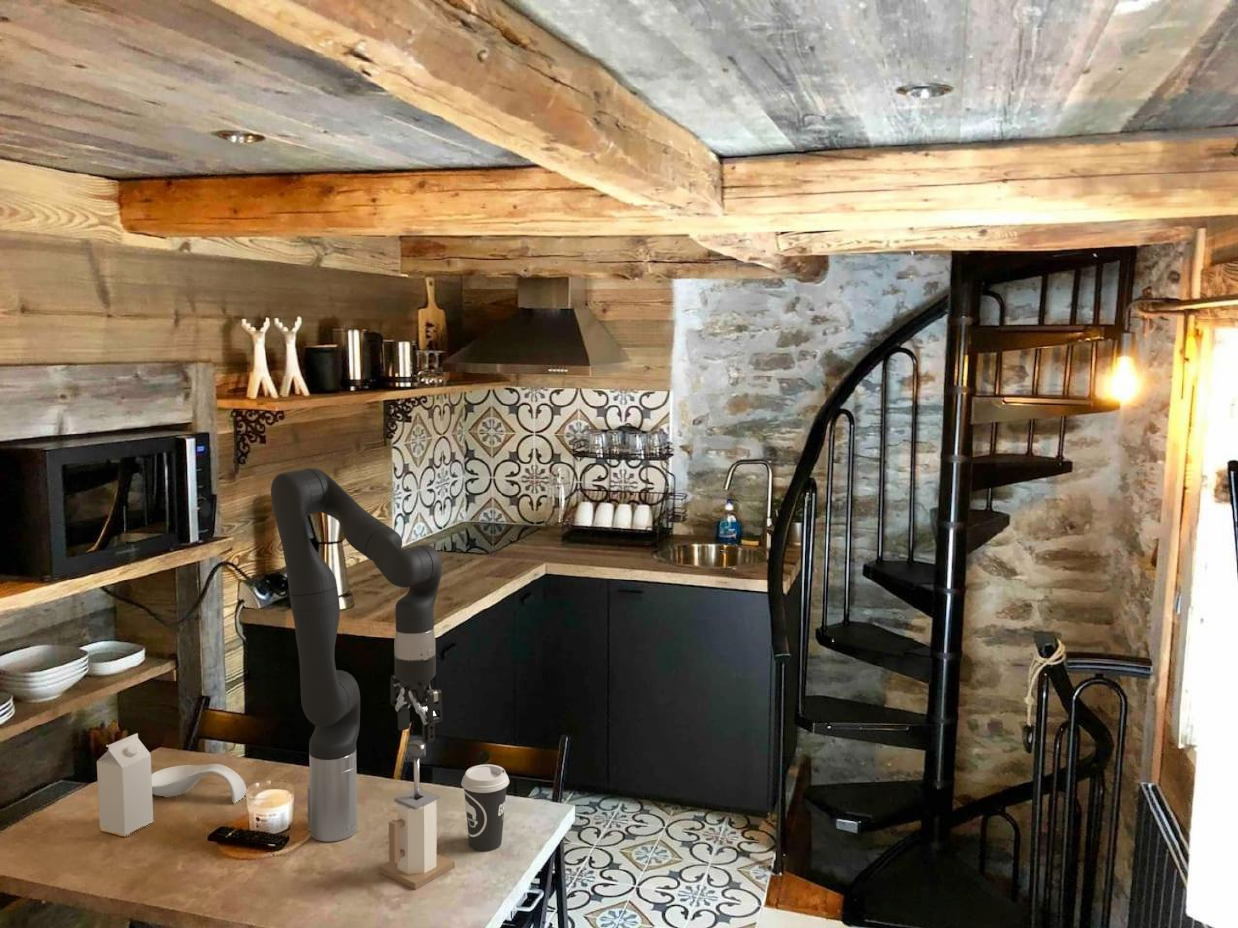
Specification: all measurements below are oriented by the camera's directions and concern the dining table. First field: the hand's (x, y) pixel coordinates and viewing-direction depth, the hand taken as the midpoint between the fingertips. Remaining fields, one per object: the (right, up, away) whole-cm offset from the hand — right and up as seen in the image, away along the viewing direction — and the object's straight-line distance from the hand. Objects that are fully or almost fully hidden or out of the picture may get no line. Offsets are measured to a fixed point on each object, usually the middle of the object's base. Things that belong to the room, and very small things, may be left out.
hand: (416, 735), depth 187 cm
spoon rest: (-56, -23, +34) cm, 70 cm away
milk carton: (-63, -24, +18) cm, 70 cm away
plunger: (0, -15, +2) cm, 15 cm away
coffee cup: (+11, -26, +13) cm, 31 cm away
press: (0, -26, +3) cm, 27 cm away
